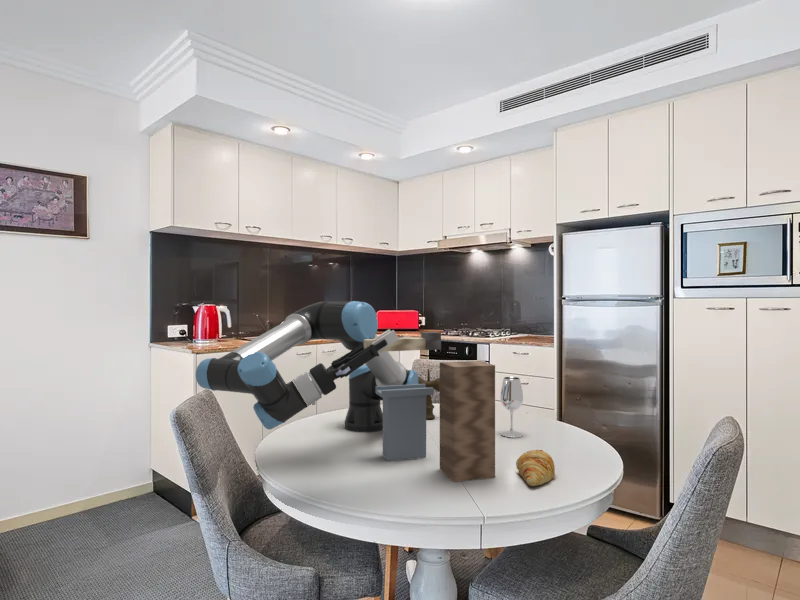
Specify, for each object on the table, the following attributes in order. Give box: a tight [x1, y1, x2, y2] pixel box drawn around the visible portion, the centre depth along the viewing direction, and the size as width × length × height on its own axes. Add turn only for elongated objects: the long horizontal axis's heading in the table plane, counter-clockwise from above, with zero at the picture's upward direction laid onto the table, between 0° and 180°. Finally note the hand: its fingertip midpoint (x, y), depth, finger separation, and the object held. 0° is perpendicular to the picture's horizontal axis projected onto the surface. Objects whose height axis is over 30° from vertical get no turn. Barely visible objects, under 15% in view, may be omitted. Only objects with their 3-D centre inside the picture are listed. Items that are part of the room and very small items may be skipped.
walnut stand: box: [439, 360, 496, 483], centre depth 136 cm, size 12×10×30 cm
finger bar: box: [364, 331, 442, 352], centre depth 129 cm, size 20×4×4 cm, turn 107°
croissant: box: [515, 449, 556, 487], centre depth 134 cm, size 21×10×8 cm, turn 160°
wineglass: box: [500, 376, 524, 439], centre depth 174 cm, size 8×8×20 cm
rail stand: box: [376, 384, 435, 462], centre depth 151 cm, size 16×8×21 cm, turn 107°
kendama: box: [418, 368, 440, 420], centre depth 198 cm, size 6×10×20 cm, turn 79°
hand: (393, 334), depth 129 cm, fingers closed on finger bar, 3 cm apart
